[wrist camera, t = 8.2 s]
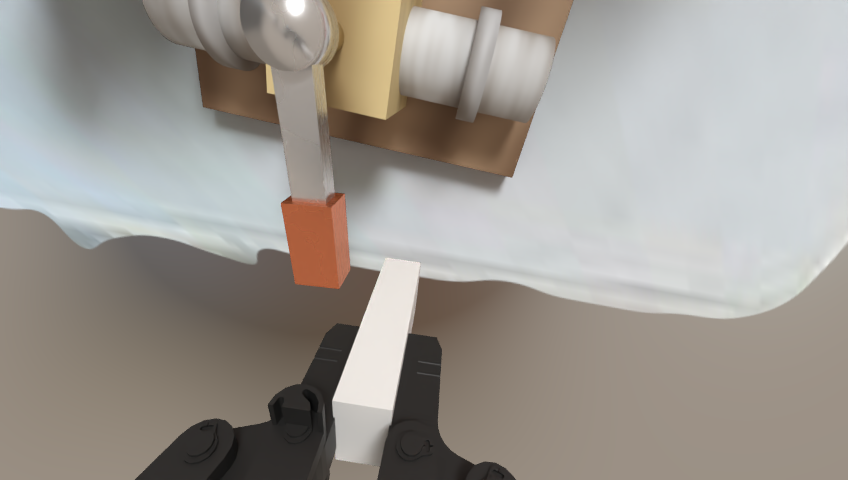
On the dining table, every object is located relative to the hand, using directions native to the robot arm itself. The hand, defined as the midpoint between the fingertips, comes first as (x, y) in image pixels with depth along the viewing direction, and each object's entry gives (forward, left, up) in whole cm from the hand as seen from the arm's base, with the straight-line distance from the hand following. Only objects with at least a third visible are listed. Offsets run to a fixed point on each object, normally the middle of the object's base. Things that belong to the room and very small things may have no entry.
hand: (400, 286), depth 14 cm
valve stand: (-7, +9, -17) cm, 20 cm away
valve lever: (-6, +3, -5) cm, 8 cm away
